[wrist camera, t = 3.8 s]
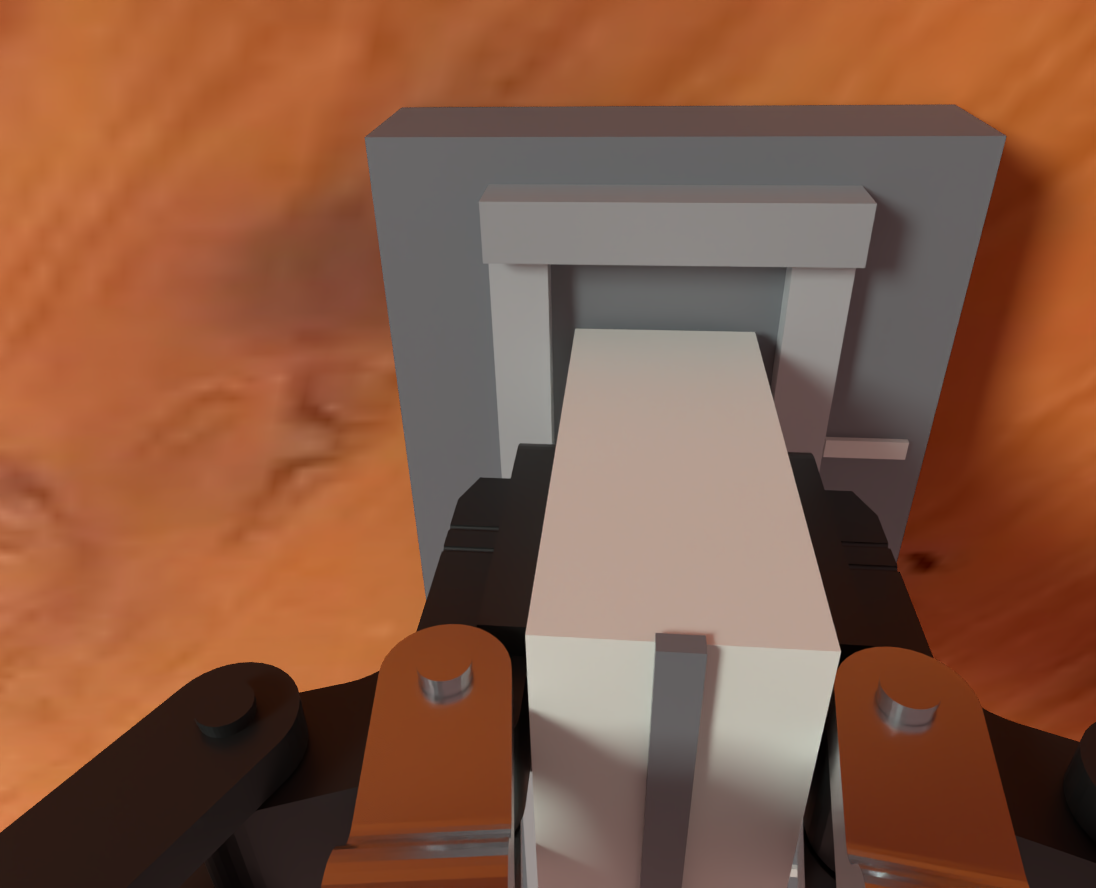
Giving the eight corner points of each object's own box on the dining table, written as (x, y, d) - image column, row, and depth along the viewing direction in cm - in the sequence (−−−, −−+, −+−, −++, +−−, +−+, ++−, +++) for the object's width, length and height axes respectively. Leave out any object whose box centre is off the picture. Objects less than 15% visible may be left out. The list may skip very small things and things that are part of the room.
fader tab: (575, 325, 12) (522, 645, 7) (755, 328, 12) (846, 663, 6) (576, 551, 14) (537, 923, 9) (727, 557, 14) (778, 943, 9)
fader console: (402, 107, 13) (346, 151, 10) (954, 104, 12) (1031, 152, 10) (494, 965, 26) (480, 1070, 24) (758, 988, 25) (770, 1099, 23)
